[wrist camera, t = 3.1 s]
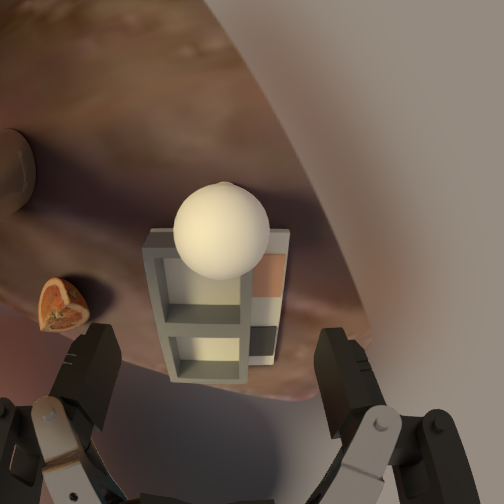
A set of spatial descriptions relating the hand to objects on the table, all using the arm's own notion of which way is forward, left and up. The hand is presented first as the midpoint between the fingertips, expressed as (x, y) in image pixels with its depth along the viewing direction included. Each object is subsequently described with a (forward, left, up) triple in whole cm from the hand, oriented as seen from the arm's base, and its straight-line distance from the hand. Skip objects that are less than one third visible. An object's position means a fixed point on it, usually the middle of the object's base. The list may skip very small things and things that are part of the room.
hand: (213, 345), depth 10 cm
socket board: (-1, -13, -17) cm, 22 cm away
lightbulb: (0, 0, -18) cm, 18 cm away
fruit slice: (-19, -12, -18) cm, 29 cm away
